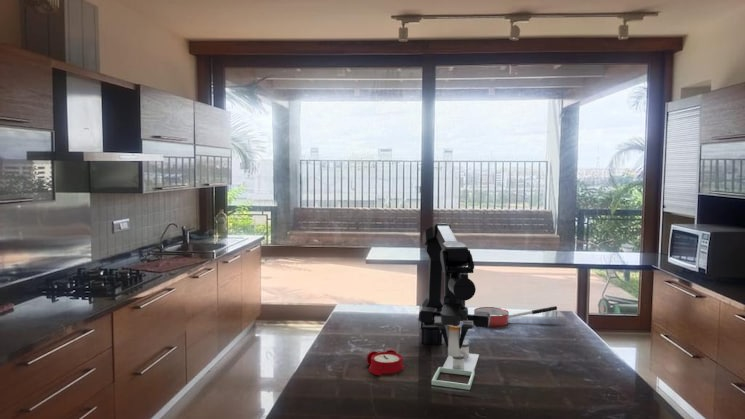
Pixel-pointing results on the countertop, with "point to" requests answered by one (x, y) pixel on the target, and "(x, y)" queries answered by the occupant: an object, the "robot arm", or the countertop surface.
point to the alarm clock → (384, 362)
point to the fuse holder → (462, 359)
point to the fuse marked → (453, 340)
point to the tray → (453, 384)
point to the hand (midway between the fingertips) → (453, 347)
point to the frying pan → (507, 314)
